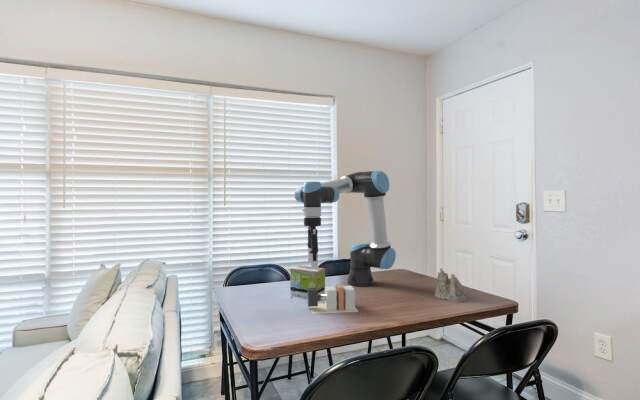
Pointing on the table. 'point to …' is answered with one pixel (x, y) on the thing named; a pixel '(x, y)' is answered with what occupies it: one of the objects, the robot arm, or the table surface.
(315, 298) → the shaft
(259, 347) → the table surface
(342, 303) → the block
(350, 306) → the shaft housing
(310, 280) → the tea box
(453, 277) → the grey rock formation
